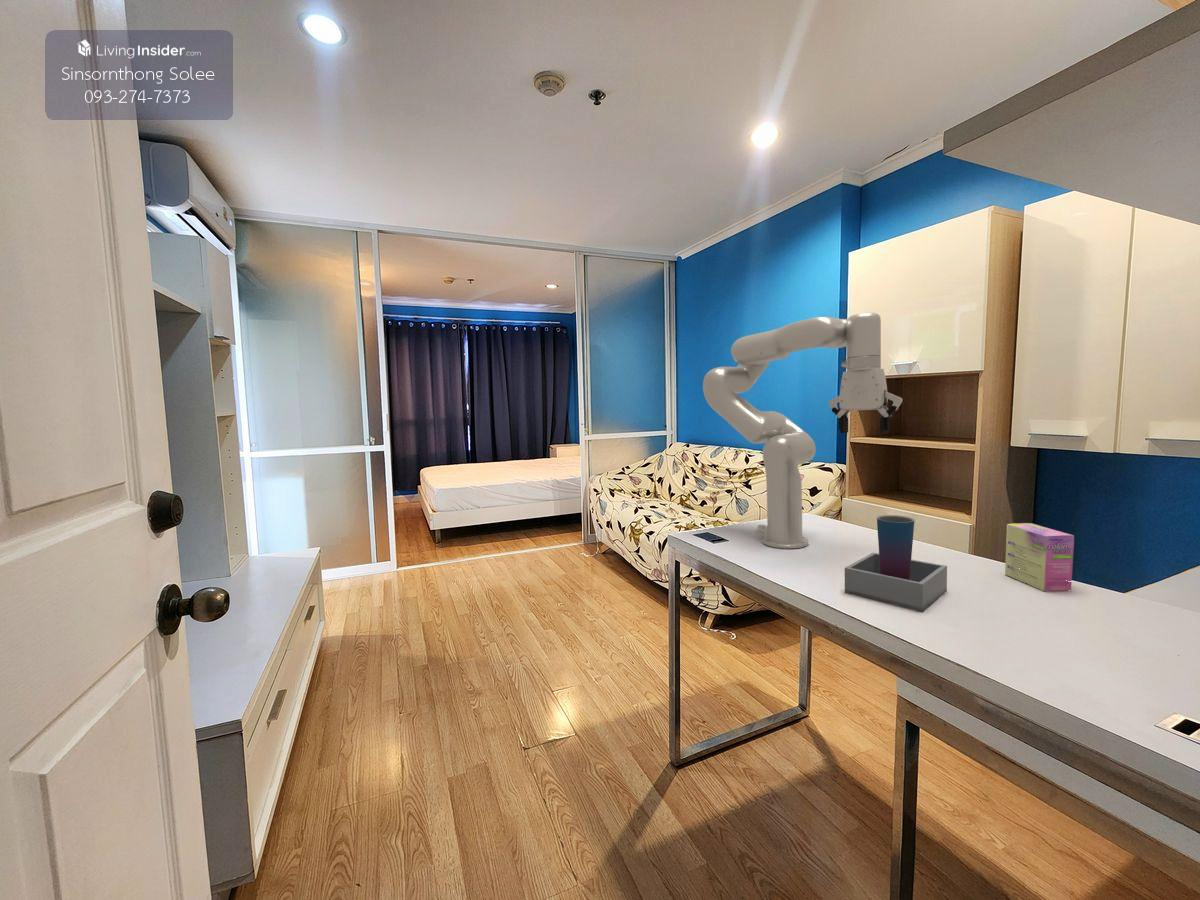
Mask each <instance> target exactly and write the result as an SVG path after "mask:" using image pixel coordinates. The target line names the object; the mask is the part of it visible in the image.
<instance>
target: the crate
mask: <svg viewBox="0 0 1200 900" xmlns="http://www.w3.org/2000/svg"><path fill="white" fill-rule="evenodd" d="M947 591H948V565H944V564H939V563H933V562H927V561H921V560H916V559H912V558H911V568H910V580H906V579H901V578H897V577H892V576H887V575H882V574H880V559H879V552H878V553H877V552H871V553H869V554H868V555H866V556H864V557H863V558H860V559H859V560H857V561H854V562H853V563H851V564H849V565H847V566H845V567H844V594H848V595H851V596H856V597H860V598H863V599H867V600H871V601H875V602H880V603H884V604H887V605H891V606H895V607H899V608H903V609H908V610H912V611H916V612H921V613H923V612H925V611H926V610H927V609H928V608H929V607H930V606H932V605H933V604H934V603H936V601H937V600H938V599H940V598H941V597H942V596H943V595H944V594H945V592H946V593H947Z"/></svg>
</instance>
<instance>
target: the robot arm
mask: <svg viewBox="0 0 1200 900" xmlns="http://www.w3.org/2000/svg"><path fill="white" fill-rule="evenodd" d="M881 334H882V320H881V316H880V314H878V313H875V312H864V313H863V312H862V313H861V312H860V313H856V314H852V315H850V316H849V317H848V318H836V317H830V316H816V317H811V318H807V319H802V320H799V321H793V322H791V323H788V324H786V325H784V326H781V327H779V328H775V329H771V330H767V331H762V332H759V333H754V334H749V335H745V336H742V337H740V338H737V339H736V340H735V341H734V342H733V343H732V346H731V350H730V353H731V354H730V355H731V357H732V359H733V360H734V361H735V362H736V363H738V365H737V366H719V367H714V368H712V369H710V370H709V371H708V372H707V373H706V374H705V375H704V377H703V383H702V390H703V395H704V398H705V400H706V402H707V404H708V406H710V408H711V409H712V410H713V411H714V412H715V413H716V414H718V416H720V417H721V418H723V420H725V421H726V422H727V423H728V424H729V425H730V426H731V427H732V428H733V429H734V430H736V431H737V432H738V433H739V434H741V436H742V437H744V439H746V440H747V441H748V442H750V443H751V444H764V445H763V447H762V461H763V466H764V470H765V479H766V480H765V481H766V482H765V483H766V513H767V514H766V515H767V516H766V517H767V518H766V520H767V523H766V525H764V524H758V525H757V527H756V532H757V533H760V534H761V533H762V534H763V537H762V540H761V541H762V542H761V543H762V544H764V545H765V546H768V547H770V548H772V547H773V548H776V549H786V550H787V549H791V550H792V549H799V548H804V547H806V546H808V545H809V539H808V538H807V537H805V536H803V488H802V487H803V486H802V477H801V473H800V471H799V466H800V465H801V466H802V465H804V464H806V463H809V462H810V461H811V460H813V459H814V457H815V454H816V450H817V448H816V444H815V442H814V439H813V438H812V437H811V436H810V435H809V434H808V433H807V432H806V431H805V430H803V429H802V428H801V427H799V426H798V425H797V424H795V422H793V421H792V420H791V419H790V418H788V417H787V416H786V415H784V414H782V413H781V412H777V411H774V410H769V411H762V410H759V409H758V408H756V407H755V406H754V405H752V404H751V403H750V402H749V401H747V400H746V399H745V398H743V397H741V396H739V395H740V394H743V393H746V392H747V391H749V390H750V389H751V388H752V387H753V386H754V384H755V383H757V380H758V379H760V376H762V374H763V373H764V372H765V370H766V369H767V367H768V366H769V365H770V363H771V362H772V361H778V360H782V359H787V357H789V356H790V353H794V352H798V351H803V350H808V349H813V348H814V349H815V348H827V349H840V348H844V347H845V348H846V359H845V361H842V362H841V367H842V368H845V369H846V371H843V372H842V375H841V381H840V387H839V395H837V396H836V397H834V398H832V399H831V400H828V402H827V403H828V405H829V407H830V409H831V412H832V413H833V414H834V415H835V416H836V417H837V418H838V430H839V433H840V434H847V433H848V432H849V417H847V416H848V414H849V413H850V412H851V411H873V410H877V411H878V413H879V414H880V415H881V417H880V419H879V423H880V424H879V425H880V427H879V429H880V430H879V432H880V434H883V435H885V434H889V431H890V430H891V417H892V416H893V415H894V414H895V413H896V412H897V411H898V410H899V407H900V406H901V405H902V403H903V398H902V397H901V396H898V395H895V394H894V393H891V392H888V385H887V378H886V374H885V370H884V368H881V365H882V364H881V362H882V352H881V350H882V346H881V345H882V341H881V340H882V336H881ZM738 394H739V395H738ZM888 400H889V401H892V402H893V403H892V405H891V406H890V407H889V408H888V407H887V406H888V404H889V403H888ZM838 403H839V404H838ZM837 404H838V405H839V407H838V405H837Z"/></svg>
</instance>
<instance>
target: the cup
mask: <svg viewBox="0 0 1200 900" xmlns="http://www.w3.org/2000/svg"><path fill="white" fill-rule="evenodd" d="M876 526H877V529H876V530H877V542H878V544H877V545H878V554H879V559H880V574H882V575H887V576H892V577H897V578H901V579H906V580H910V568H911V559H912V554H913V544H914V543H913V542H914V531H915V530H914V529H915V519H914V518H913V517H909V516H905V515H897V514H894V515H893V514H885V515H878V516H877V517H876Z"/></svg>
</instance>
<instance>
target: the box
mask: <svg viewBox="0 0 1200 900" xmlns="http://www.w3.org/2000/svg"><path fill="white" fill-rule="evenodd" d="M1005 535H1006V537H1005V539H1006V540H1005V565H1004V566H1005V568H1004V575H1005V574H1006V575H1005V576H1008V577H1011V578H1013V579H1016V580H1017V581H1020V582H1022V583H1025V584H1026V583H1027V584H1026V585H1029V586H1031V587H1033V588H1035V587H1036V589H1038V590H1040V591H1041V590H1042V592H1044V591H1052V592H1066V591H1065V590H1071V591H1072V582H1068V581H1072V579H1073V567H1074V565H1073V562H1074V548H1075V547H1074V546H1075V535H1074V534H1071V533H1067V532H1063V531H1060V530H1056V529H1052V528H1049V527H1045V526H1042V525H1039V524H1035V523H1030V522H1029V523H1028V522H1023V523H1020V522H1019V523H1007V524H1006V534H1005ZM1019 568H1020V569H1019ZM1066 580H1067V581H1066Z"/></svg>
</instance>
